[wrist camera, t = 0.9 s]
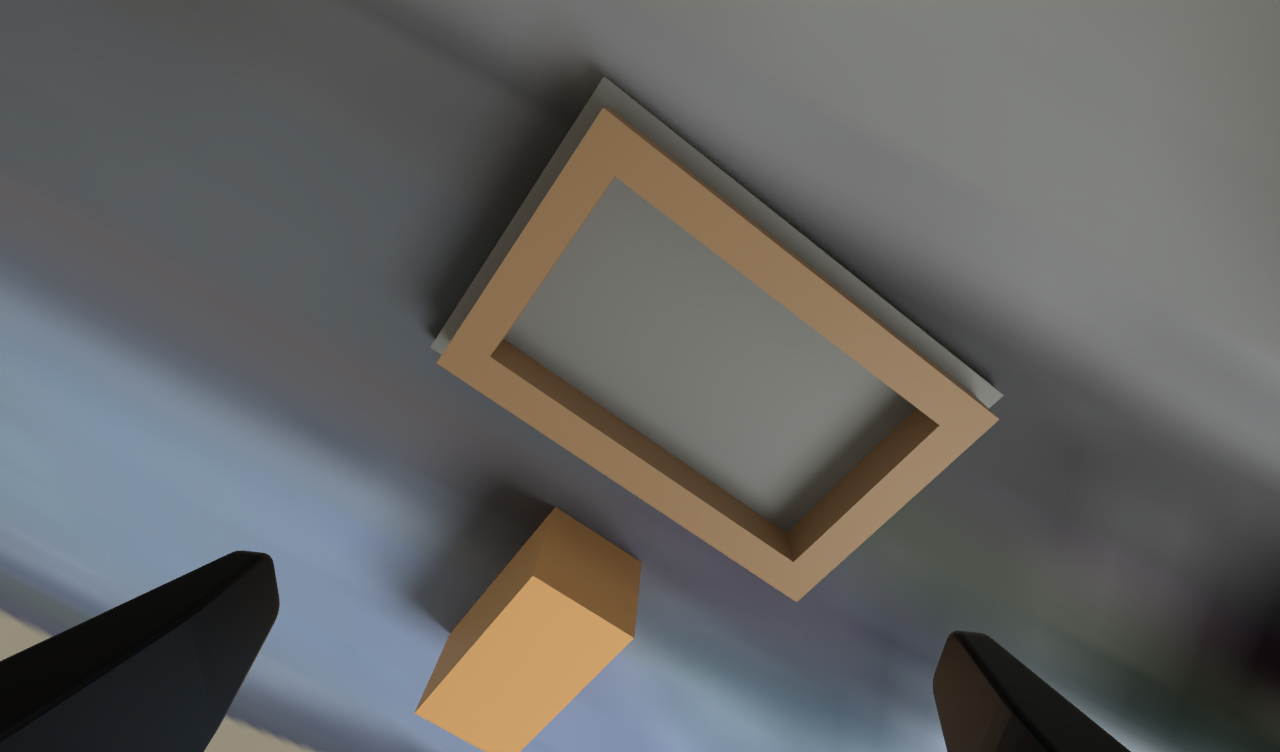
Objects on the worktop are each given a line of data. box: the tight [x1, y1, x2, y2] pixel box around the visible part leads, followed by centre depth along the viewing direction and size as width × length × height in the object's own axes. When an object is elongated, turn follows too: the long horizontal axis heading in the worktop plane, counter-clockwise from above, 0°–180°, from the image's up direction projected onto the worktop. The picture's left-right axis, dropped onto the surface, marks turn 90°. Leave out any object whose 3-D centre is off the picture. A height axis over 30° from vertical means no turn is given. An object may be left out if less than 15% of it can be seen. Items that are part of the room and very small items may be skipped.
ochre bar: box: [415, 507, 641, 752], centre depth 24 cm, size 8×4×4 cm, turn 144°
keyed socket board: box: [430, 77, 1003, 602], centre depth 20 cm, size 16×10×2 cm, turn 54°
